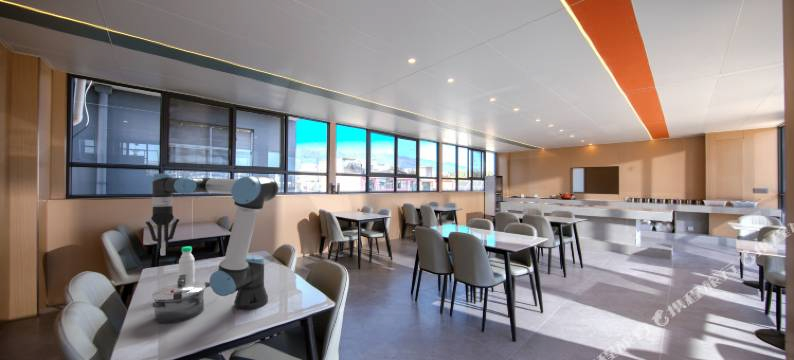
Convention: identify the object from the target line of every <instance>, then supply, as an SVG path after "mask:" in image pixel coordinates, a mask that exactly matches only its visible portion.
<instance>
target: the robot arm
mask: <svg viewBox="0 0 794 360" xmlns="http://www.w3.org/2000/svg"><path fill="white" fill-rule="evenodd" d="M173 176H174V175H173V174H171V173H154V174H153V175H152V180H151V181H152V182H151V184H152V186H151V187H152V215H151V218H150V219H149V220H146V221H145V222H144V223H145V225H146V226H147V228H148V230H149V233H150V237H151V240H152V241H153V242H157V243H156V244H157V245H156V246H157V249H158V250H159V249H160V250H159V252H160V253H159V254H160V256H166V248H168V247H169V241H170V240H173V239H174V235H175V234H176V233H175V232H176V229H177V225H178V223H180V219H179V218H176V217H175V216H174V213H173V212H174V211H173V207H174V206H173V204H174V203H173V196H174V194H181V195H186V194H197V193H198V194H199V193H200V194H201V193H204V194H205V193H206V194H224V195H226V194H227V195H230V196H232V197H231V198H232V200H233V201H234V206H235V207H236V212H235V215H234V220H233V222H232V228H231V233H230V237H229V240H228V244H227V247H226V252H225V255H224V259H222V260H221V261H220V262H219V263H218V264H219V265H218V269H217V270H215V271H214V272H212V273H211V274H210V276H209V282H210V286H209V287H210V288H211V289H212V292H213V293H214V294H216V295H218V296H219V297H220V296H221V297H227V296H229V295H233V294H235V292H237V293H236V294H235V299H234V301H233V307H234V309H236V310H240V311H241V310H242V311H244V310H253V309H256V308H260V307H263V306H264V305H266V304H267V303H268V302H269V295H268V294H267V293H268V292H267V290H266V287H265V259H264V258H263V257H262V256H258V255H257V256H254V255H252V256H248V255H249V249H250V244H251V242H252V237H253V233H254V229H255V226H256V225H255V224H256V220H257V217H258V213H259V211H261V210H263V208H264V204H265V202H269V201H271V200H273V199H274V198H275V197H276V196H277V195H278V193H279V185H278V183H277V181H276V180H275V179H274V178H272V177H269V176H255V175H254V176H253V175H249V176H242V177H240V178H238V179H236V178H233V179H231V178H216V177H215V178H212V177H211V178H210V177H186V176H184V177H173ZM171 222H172V224H171ZM153 223H154V224H155V225H156V230H157V231H156V233H155V230H154V226H153ZM170 224H171V228H170V232H169V225H170ZM162 228H163V233H162ZM162 234H163V235H162ZM156 235H157V236H156ZM162 236H163V239H162Z"/></svg>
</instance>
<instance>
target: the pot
mask: <svg viewBox="0 0 794 360" xmlns="http://www.w3.org/2000/svg"><path fill="white" fill-rule="evenodd" d="M203 283H204V284H205V285H206V288H205V289H207V288H209V287H211V286H210V281H209V282H208V281H205V282H203ZM205 289H204V290H203V291H202V292H200V293H198V294H195V295H192V296H189V297H185V298H182V299H178V300H167V301H159V300H154V299H153V301H154V302H153V303H152V308H154V322H155V323H157V324H160V325H169V324H176V323H180V322H181V323H182V322H185V321H189V320H191V319H193V318H196V317H197V316H199V315H201V314H202V313H203V311H204V309H205V307H204V306H205V305H204V304H205V303H204V301H205V299H204V297H205V295H204V293H205V292H204V291H205Z"/></svg>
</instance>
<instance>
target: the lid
mask: <svg viewBox="0 0 794 360" xmlns="http://www.w3.org/2000/svg"><path fill="white" fill-rule="evenodd" d="M204 283H205V282H197V281H195V282H191V283H186V274H185V275H179V274H178V279H177V284H173V285H170V286H165V287H162V288H161V289H158V290H156V291H155V292H154V291H153V293H152V295H151V297H152V298H151V299H153V301H154V300H159V301H167V300H178V299H182V298H185V297H189V296H192V295H195V294H198V293H200V292H202V291H203V290H204V291H205V290H206V289H207V288H206V285H205V284H204Z"/></svg>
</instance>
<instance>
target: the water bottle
mask: <svg viewBox="0 0 794 360" xmlns="http://www.w3.org/2000/svg"><path fill="white" fill-rule="evenodd" d="M192 251H193V247H192V246H191V245H190V246H189V245H188V246H182V247H181V253H182V254H181V255H180V258H179V259H178V263H179V264H178V265H179V266H178V276H179V275H185V274H186V283H191V282H196V281H195V280H196V279H195V274H196V273H195V271H196V270H195V261H196V260H195V257H194V255H193V254H192Z"/></svg>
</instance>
